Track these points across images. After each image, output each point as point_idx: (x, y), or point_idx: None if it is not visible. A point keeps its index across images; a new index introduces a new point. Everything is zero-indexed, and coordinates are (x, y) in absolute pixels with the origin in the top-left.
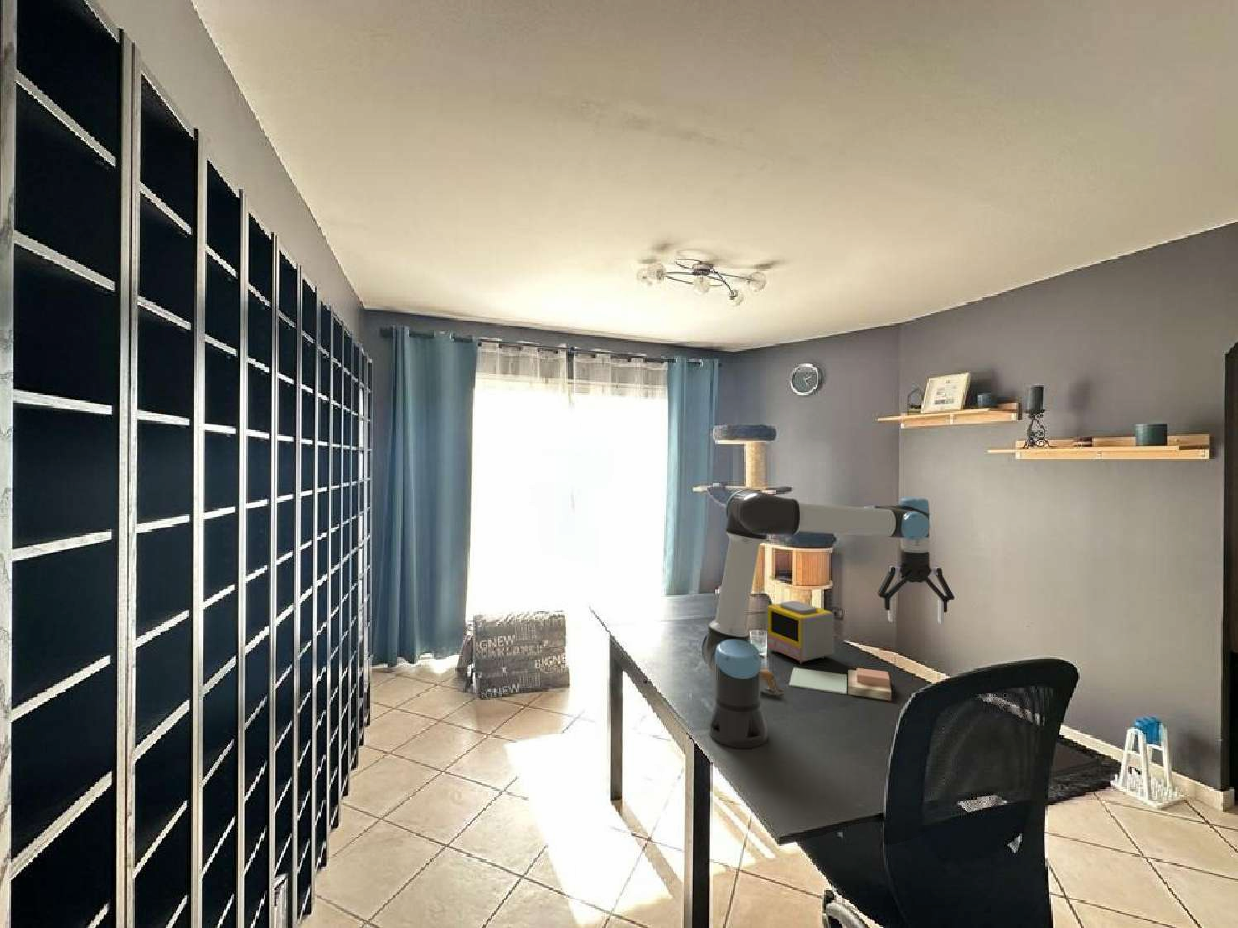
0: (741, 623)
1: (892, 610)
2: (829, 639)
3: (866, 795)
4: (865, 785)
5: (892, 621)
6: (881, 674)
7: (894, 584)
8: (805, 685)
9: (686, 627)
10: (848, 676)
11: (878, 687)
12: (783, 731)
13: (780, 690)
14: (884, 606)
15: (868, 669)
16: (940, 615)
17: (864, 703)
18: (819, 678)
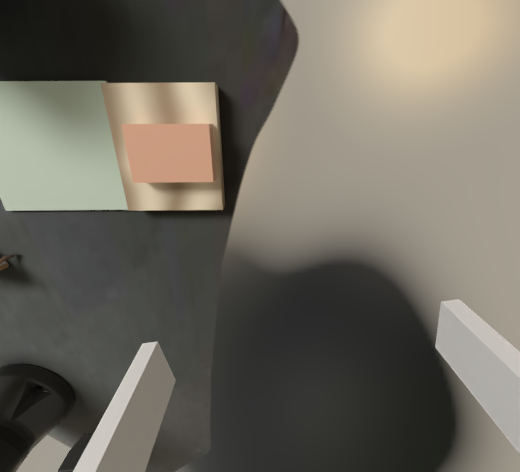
0: None
1: (144, 464)
2: None
3: (203, 439)
4: (200, 428)
5: (171, 384)
6: (193, 153)
7: None
8: (39, 202)
9: None
10: (114, 144)
11: (194, 191)
12: (83, 368)
13: (8, 258)
14: (68, 463)
15: (155, 124)
16: (477, 395)
17: (175, 238)
18: (50, 143)
